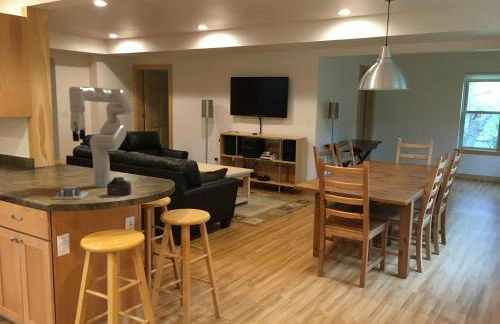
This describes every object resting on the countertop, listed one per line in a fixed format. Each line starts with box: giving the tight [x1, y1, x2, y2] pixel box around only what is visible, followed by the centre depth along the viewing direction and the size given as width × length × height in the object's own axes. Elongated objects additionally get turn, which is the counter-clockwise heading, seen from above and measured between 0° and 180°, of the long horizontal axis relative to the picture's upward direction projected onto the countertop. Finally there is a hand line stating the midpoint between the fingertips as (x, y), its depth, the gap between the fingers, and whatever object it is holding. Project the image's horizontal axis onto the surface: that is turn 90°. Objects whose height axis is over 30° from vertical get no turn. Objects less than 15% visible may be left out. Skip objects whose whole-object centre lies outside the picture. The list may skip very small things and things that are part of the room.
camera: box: [106, 176, 132, 196], centre depth 234 cm, size 13×10×10 cm
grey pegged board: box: [52, 190, 89, 200], centre depth 228 cm, size 12×15×4 cm
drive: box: [59, 186, 81, 196], centre depth 228 cm, size 5×9×4 cm, turn 95°
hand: (79, 140), depth 232 cm, fingers open, 9 cm apart
